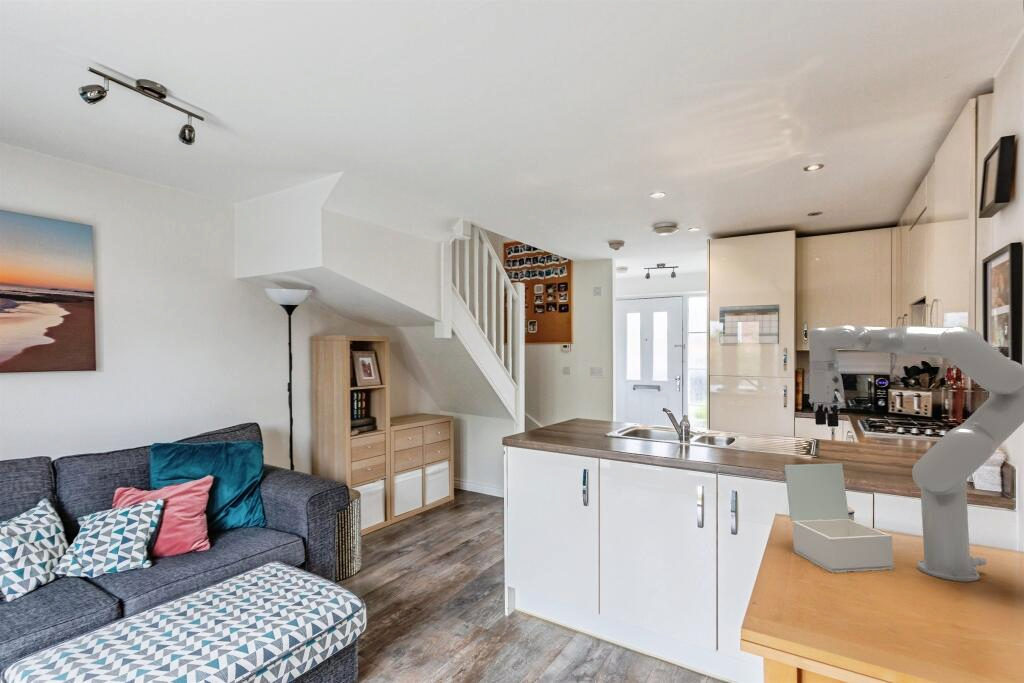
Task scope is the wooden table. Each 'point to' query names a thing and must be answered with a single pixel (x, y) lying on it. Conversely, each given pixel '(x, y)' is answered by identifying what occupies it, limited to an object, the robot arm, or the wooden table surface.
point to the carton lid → (816, 491)
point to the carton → (843, 545)
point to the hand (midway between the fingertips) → (826, 424)
